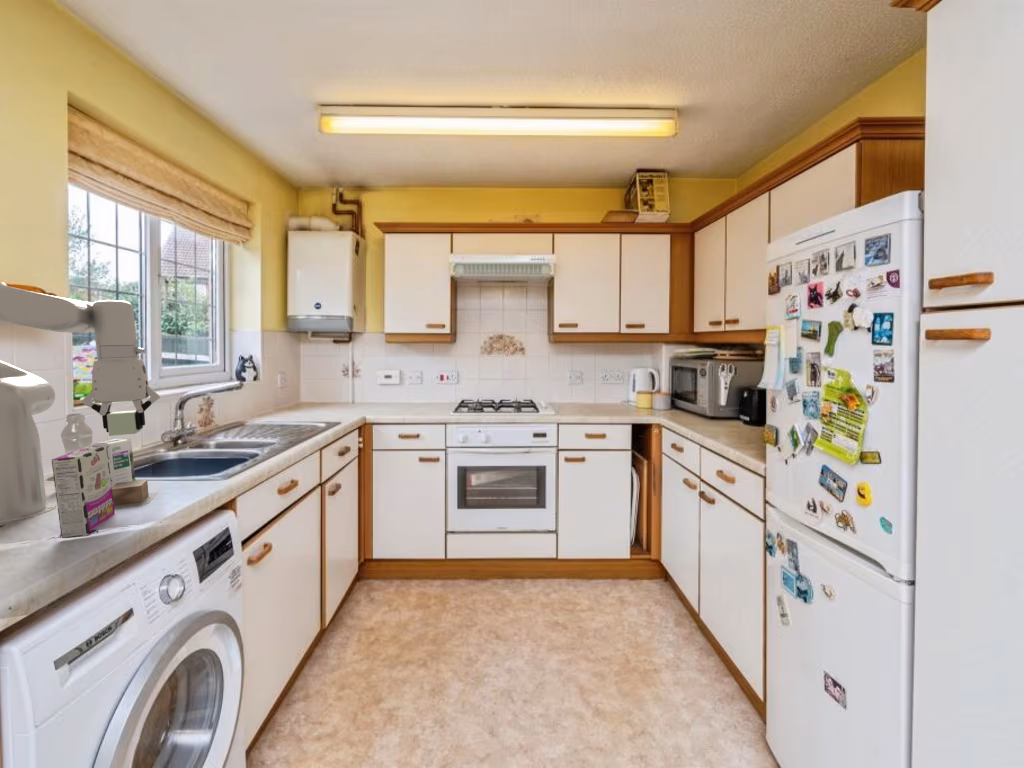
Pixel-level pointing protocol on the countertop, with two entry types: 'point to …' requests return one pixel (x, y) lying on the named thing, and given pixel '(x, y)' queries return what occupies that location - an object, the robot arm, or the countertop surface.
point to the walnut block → (130, 492)
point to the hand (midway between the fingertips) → (125, 429)
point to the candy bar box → (83, 490)
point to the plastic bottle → (76, 433)
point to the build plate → (146, 501)
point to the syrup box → (119, 460)
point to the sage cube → (122, 423)
